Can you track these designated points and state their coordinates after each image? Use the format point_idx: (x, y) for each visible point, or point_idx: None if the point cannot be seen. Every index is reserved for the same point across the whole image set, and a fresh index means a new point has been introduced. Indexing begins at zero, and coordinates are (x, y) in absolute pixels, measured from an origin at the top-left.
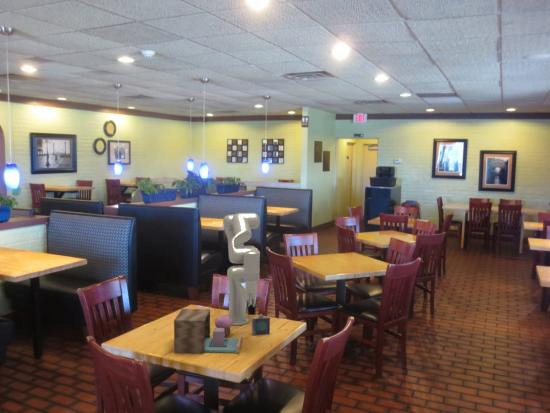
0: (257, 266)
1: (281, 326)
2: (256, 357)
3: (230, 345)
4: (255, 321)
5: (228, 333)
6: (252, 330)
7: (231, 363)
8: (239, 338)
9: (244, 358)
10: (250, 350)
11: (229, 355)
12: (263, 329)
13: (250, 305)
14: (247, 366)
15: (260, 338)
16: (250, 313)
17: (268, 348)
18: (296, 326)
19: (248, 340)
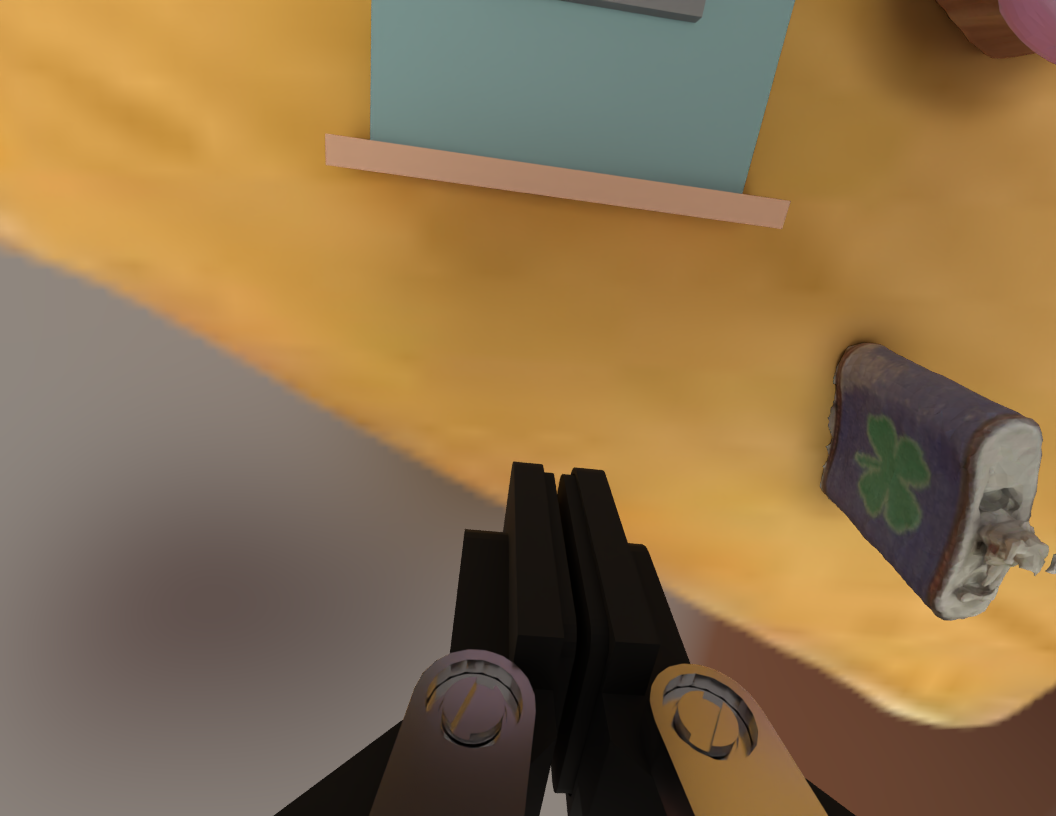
0: None
1: None
2: (279, 349)
3: (527, 55)
4: (945, 441)
5: (969, 33)
6: (886, 359)
7: (83, 67)
8: (606, 186)
9: (241, 228)
10: (448, 301)
11: (305, 43)
12: (862, 474)
13: (318, 812)
14: (51, 251)
15: (741, 414)
16: (465, 535)
17: (488, 465)
18: (919, 692)
19: (718, 293)
